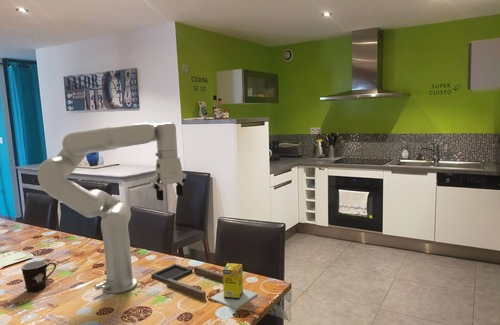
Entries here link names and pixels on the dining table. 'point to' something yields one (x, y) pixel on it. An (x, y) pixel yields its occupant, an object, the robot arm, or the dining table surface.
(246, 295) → the pad
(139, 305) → the dining table surface
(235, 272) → the supplement box
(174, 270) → the tray
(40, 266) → the coffee mug
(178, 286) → the wooden bars
